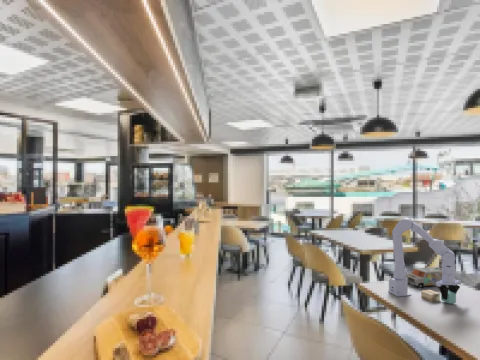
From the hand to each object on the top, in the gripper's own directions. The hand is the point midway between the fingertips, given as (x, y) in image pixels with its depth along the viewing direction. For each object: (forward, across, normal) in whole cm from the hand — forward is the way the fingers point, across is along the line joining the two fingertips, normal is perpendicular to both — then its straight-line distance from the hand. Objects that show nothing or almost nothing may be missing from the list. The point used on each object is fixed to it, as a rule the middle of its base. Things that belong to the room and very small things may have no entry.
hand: (448, 298), depth 153 cm
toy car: (+3, +13, +25) cm, 29 cm away
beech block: (+2, -5, +6) cm, 8 cm away
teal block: (+2, 0, 0) cm, 2 cm away
